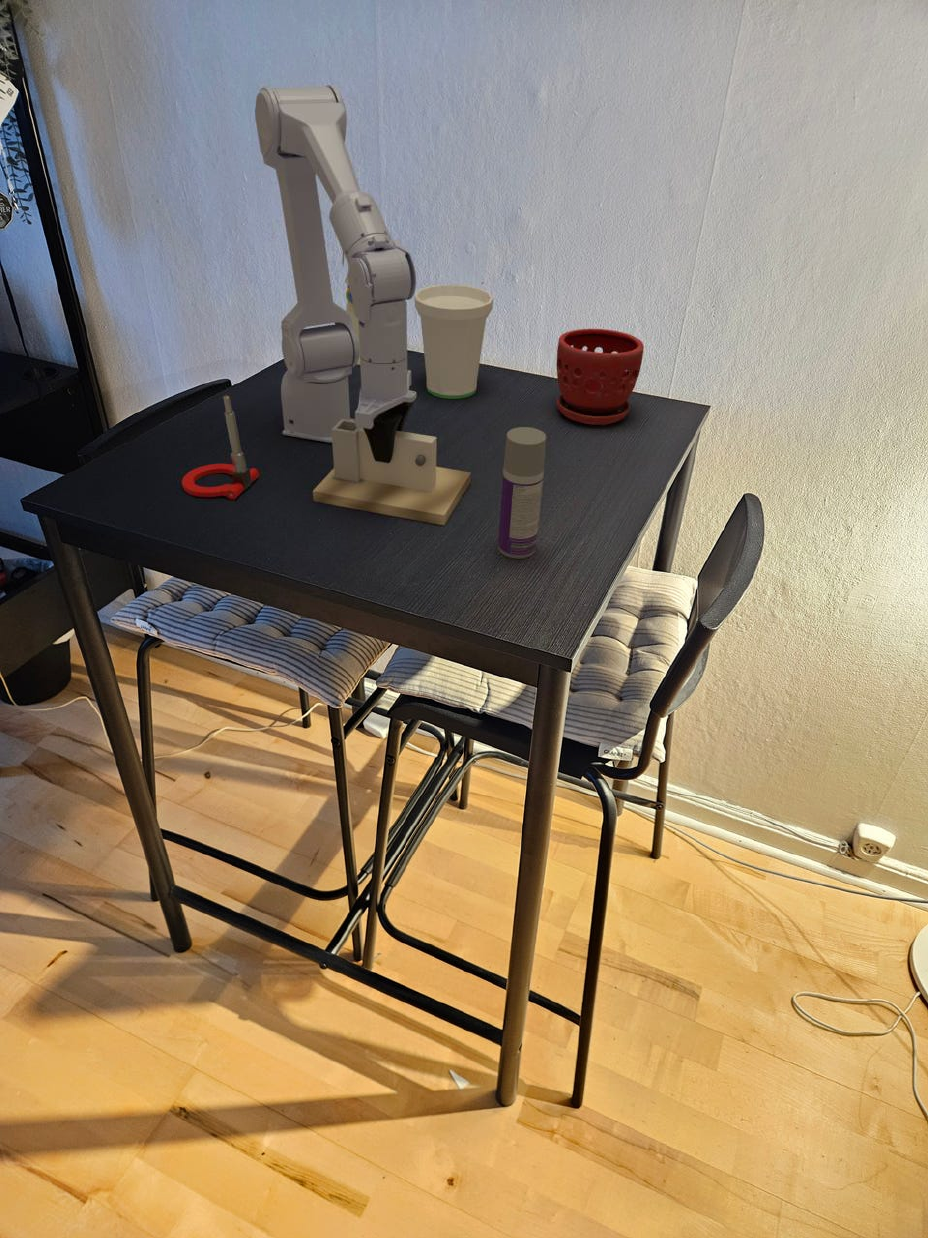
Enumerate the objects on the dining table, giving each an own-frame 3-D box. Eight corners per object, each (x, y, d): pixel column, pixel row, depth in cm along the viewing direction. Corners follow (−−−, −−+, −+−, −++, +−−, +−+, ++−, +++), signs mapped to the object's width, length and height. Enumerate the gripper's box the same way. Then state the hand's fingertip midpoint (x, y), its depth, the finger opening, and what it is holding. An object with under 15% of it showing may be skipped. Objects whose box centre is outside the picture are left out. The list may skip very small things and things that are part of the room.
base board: (313, 501, 110) (310, 469, 107) (349, 461, 119) (347, 430, 116) (444, 525, 106) (444, 492, 103) (470, 482, 115) (471, 451, 112)
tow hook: (171, 495, 111) (233, 504, 108) (148, 402, 103) (214, 410, 101) (204, 467, 117) (263, 475, 115) (184, 378, 109) (248, 384, 107)
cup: (488, 405, 136) (494, 310, 126) (412, 402, 136) (411, 306, 126) (488, 376, 145) (493, 285, 136) (416, 373, 145) (416, 282, 136)
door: (334, 477, 112) (331, 429, 108) (344, 466, 114) (341, 418, 110) (429, 494, 109) (430, 445, 105) (437, 482, 112) (438, 434, 107)
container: (495, 538, 104) (503, 426, 95) (532, 537, 105) (543, 426, 95) (500, 559, 100) (508, 445, 91) (538, 558, 101) (550, 444, 92)
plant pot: (649, 419, 134) (662, 345, 126) (587, 437, 128) (597, 360, 120) (595, 390, 142) (605, 319, 135) (534, 406, 136) (541, 333, 129)
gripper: (393, 381, 95) (395, 487, 103) (433, 340, 106) (432, 438, 114) (336, 373, 96) (342, 478, 105) (381, 332, 107) (384, 430, 116)
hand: (386, 457), depth 110 cm, fingers closed on door, 2 cm apart
